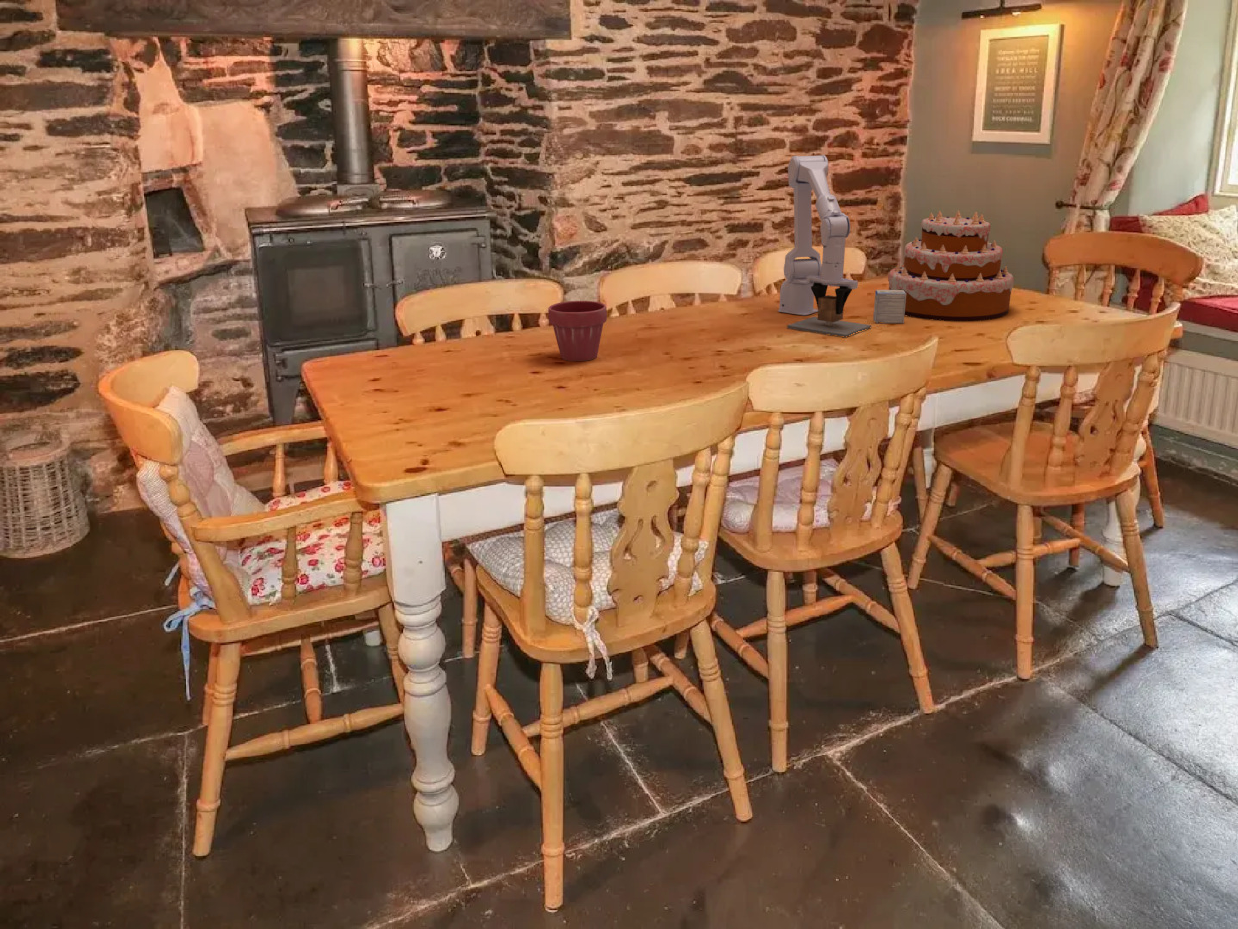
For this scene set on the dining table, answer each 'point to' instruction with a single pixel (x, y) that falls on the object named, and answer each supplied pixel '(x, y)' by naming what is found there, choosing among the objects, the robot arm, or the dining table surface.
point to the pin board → (828, 327)
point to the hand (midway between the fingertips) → (830, 312)
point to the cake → (953, 272)
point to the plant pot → (578, 328)
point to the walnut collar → (828, 309)
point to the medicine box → (889, 306)
